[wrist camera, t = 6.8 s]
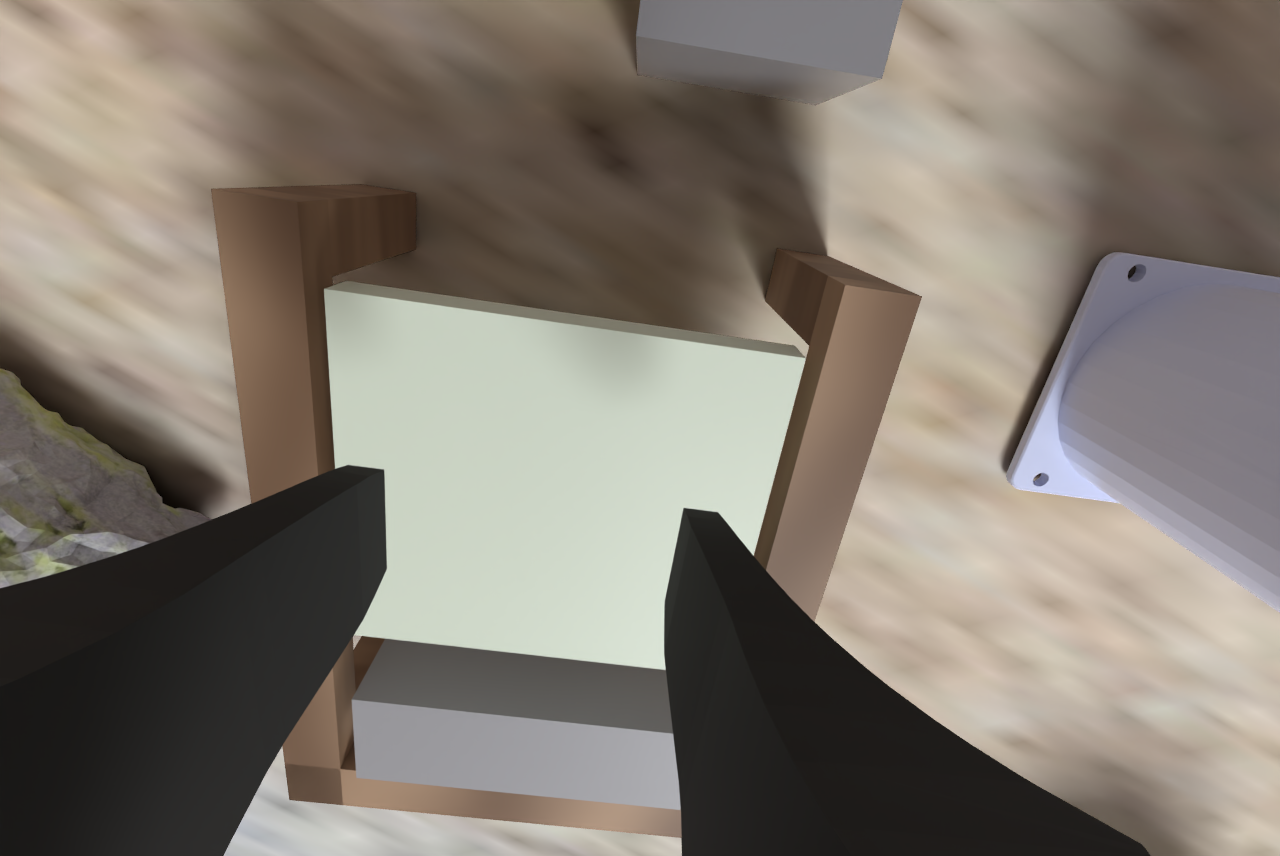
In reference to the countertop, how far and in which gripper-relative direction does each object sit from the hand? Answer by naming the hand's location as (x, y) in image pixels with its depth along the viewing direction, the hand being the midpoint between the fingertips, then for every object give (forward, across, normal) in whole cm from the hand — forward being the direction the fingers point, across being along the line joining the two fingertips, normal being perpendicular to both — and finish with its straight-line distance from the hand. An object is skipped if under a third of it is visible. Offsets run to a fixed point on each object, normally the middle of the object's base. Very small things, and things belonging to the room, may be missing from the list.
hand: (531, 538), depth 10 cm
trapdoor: (+5, 0, +4) cm, 6 cm away
